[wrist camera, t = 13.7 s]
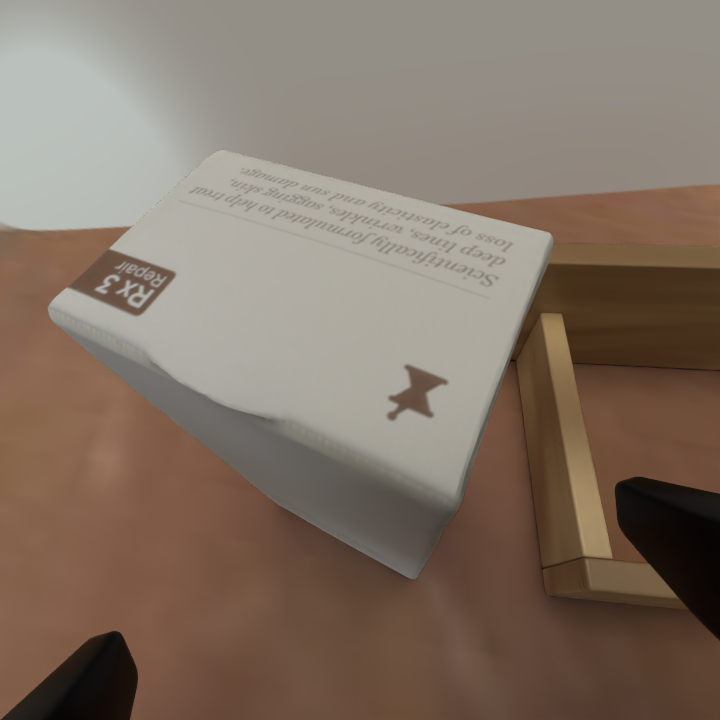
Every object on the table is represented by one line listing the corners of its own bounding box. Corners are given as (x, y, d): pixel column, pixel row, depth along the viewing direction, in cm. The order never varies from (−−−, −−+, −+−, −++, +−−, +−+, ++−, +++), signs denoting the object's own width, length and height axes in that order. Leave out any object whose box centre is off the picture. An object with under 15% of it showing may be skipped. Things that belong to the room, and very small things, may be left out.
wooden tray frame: (935, 635, 12) (1318, 651, 7) (498, 590, 14) (565, 577, 9) (784, 354, 18) (945, 251, 13) (480, 340, 19) (514, 240, 14)
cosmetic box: (458, 472, 16) (592, 212, 5) (413, 591, 14) (491, 531, 3) (321, 411, 18) (227, 124, 7) (262, 508, 15) (18, 303, 5)
